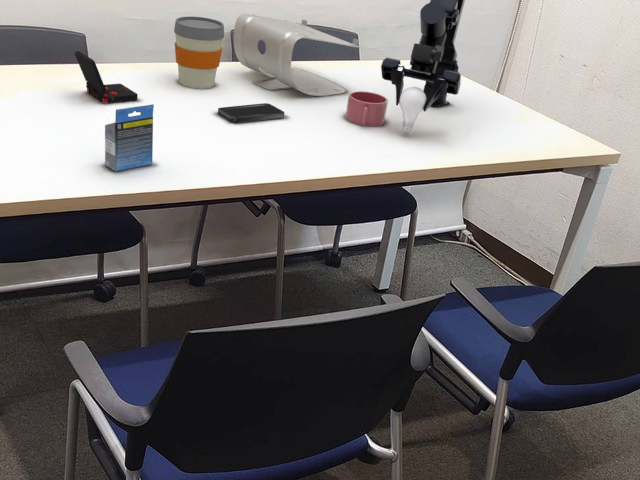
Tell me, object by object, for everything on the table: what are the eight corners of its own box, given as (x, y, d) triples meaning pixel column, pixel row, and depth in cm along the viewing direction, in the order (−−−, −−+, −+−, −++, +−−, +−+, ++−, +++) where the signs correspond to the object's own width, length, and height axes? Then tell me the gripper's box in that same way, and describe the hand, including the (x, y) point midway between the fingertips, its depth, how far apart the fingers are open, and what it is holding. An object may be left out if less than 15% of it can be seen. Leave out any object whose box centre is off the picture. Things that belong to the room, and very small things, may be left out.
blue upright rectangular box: (141, 158, 178) (143, 98, 172) (153, 165, 176) (154, 104, 169) (104, 165, 173) (104, 103, 166) (115, 172, 171) (115, 109, 164)
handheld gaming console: (138, 100, 209) (139, 58, 203) (92, 105, 202) (91, 61, 197) (120, 89, 215) (120, 47, 209) (74, 93, 208) (73, 49, 203)
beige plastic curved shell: (228, 73, 238) (232, 13, 229) (294, 66, 252) (300, 9, 243) (288, 101, 223) (295, 38, 214) (355, 92, 236) (364, 32, 228)
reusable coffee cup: (230, 85, 229) (234, 25, 220) (200, 93, 219) (204, 31, 211) (192, 73, 234) (195, 14, 225) (161, 81, 224) (164, 19, 216)
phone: (216, 108, 207) (268, 102, 215) (215, 112, 208) (267, 107, 216) (234, 118, 202) (286, 112, 210) (233, 123, 203) (286, 117, 211)
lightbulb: (418, 139, 208) (427, 93, 202) (392, 135, 208) (400, 88, 202) (420, 131, 213) (429, 86, 207) (394, 126, 214) (403, 81, 207)
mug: (347, 110, 222) (350, 89, 219) (385, 117, 221) (389, 95, 218) (342, 125, 212) (345, 103, 209) (382, 132, 211) (386, 109, 208)
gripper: (390, 21, 203) (370, 80, 200) (469, 37, 199) (449, 97, 196) (392, 49, 213) (373, 106, 211) (467, 64, 209) (448, 122, 207)
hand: (410, 107), depth 206 cm, fingers closed on lightbulb, 6 cm apart
